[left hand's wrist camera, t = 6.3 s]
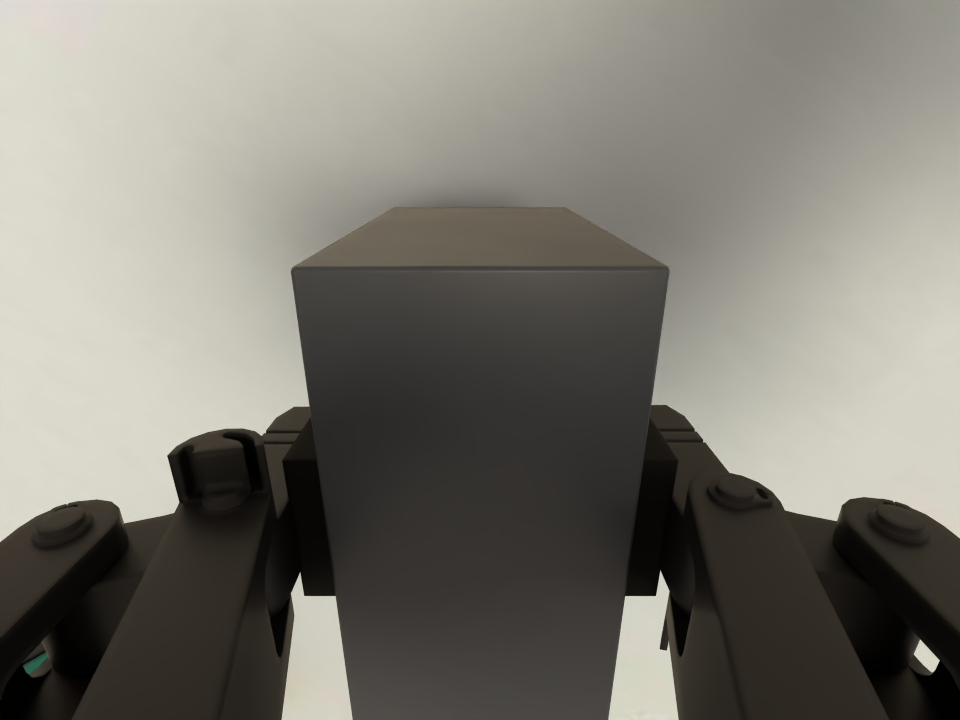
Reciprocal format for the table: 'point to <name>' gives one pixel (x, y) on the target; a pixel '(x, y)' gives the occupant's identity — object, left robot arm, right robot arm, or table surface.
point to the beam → (480, 454)
